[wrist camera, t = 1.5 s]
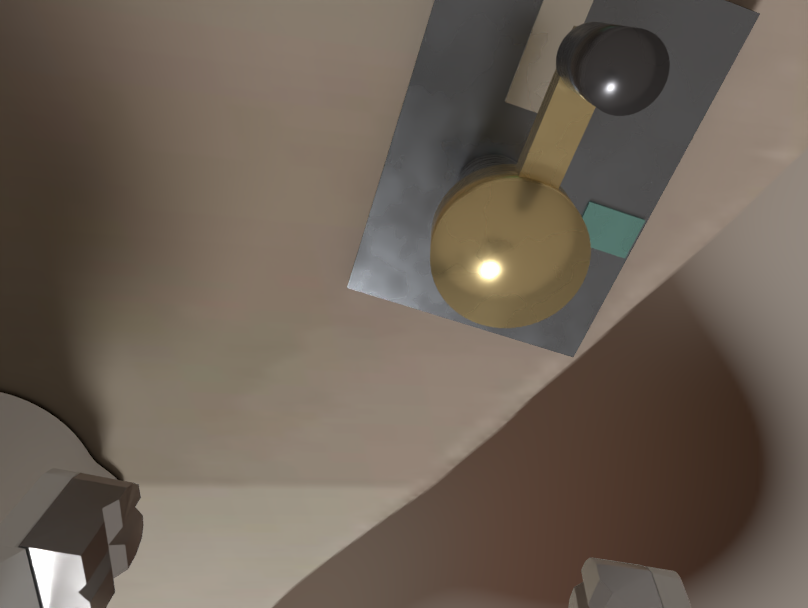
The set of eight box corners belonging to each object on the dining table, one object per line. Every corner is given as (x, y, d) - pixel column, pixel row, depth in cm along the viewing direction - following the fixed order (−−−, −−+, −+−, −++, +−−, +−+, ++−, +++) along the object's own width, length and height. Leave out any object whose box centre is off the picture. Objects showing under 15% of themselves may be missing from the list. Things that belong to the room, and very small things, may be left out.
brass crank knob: (541, 317, 30) (566, 396, 24) (412, 277, 30) (404, 348, 24) (672, 50, 24) (749, 68, 18) (514, -8, 24) (540, -10, 18)
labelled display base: (569, 348, 41) (598, 425, 34) (349, 279, 40) (328, 345, 32) (749, 13, 31) (846, 17, 24) (464, -95, 30) (472, -127, 22)
